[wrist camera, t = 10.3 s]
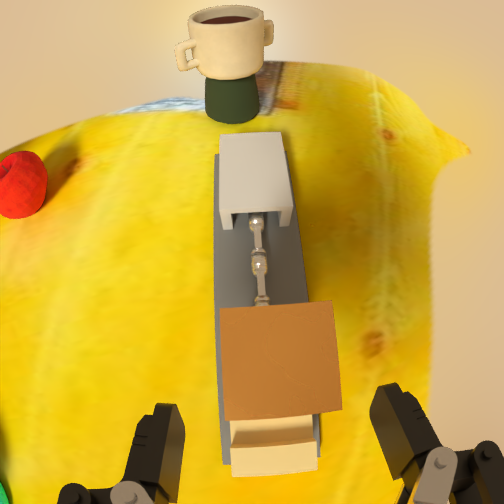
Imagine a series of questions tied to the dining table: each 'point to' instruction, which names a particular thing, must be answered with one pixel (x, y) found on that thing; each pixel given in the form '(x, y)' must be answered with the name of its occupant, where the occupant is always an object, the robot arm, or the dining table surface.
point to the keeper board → (245, 290)
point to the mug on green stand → (227, 58)
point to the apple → (22, 184)
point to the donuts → (3, 495)
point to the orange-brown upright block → (277, 352)
